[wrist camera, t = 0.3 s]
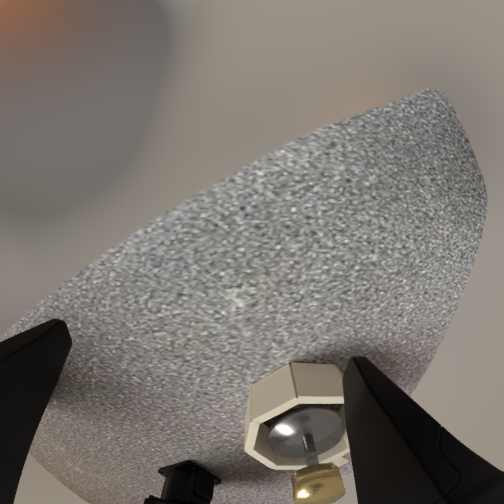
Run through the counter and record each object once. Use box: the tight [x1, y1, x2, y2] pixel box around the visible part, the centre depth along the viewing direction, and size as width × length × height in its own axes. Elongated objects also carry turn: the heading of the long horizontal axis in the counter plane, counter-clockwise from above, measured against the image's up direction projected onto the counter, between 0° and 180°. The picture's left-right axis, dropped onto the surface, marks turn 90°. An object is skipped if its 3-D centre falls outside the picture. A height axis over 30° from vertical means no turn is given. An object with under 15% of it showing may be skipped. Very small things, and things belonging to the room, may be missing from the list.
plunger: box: [268, 406, 345, 504], centre depth 17 cm, size 7×7×8 cm
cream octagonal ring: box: [244, 362, 350, 470], centre depth 23 cm, size 11×13×5 cm
